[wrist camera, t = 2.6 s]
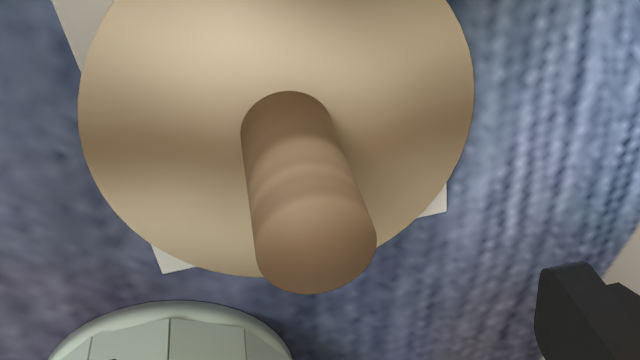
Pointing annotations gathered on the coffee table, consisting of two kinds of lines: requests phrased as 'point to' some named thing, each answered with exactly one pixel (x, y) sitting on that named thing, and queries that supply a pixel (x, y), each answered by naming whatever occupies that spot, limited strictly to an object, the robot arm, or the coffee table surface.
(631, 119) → the coffee table surface
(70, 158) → the coffee table surface
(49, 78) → the coffee table surface
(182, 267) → the mat
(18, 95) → the coffee table surface
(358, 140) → the lid
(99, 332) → the bowl
